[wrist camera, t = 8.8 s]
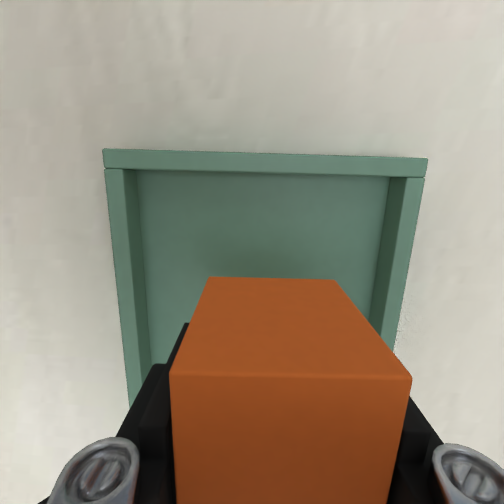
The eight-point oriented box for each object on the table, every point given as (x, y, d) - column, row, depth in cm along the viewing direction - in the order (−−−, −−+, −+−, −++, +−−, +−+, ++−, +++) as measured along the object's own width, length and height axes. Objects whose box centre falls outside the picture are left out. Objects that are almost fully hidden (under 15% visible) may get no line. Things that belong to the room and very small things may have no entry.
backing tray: (123, 151, 14) (101, 147, 12) (402, 160, 14) (429, 157, 12) (150, 462, 19) (138, 497, 17) (353, 465, 19) (365, 500, 17)
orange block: (208, 275, 9) (167, 372, 5) (335, 278, 9) (415, 377, 5) (210, 428, 10) (181, 608, 6) (318, 430, 10) (365, 611, 6)
